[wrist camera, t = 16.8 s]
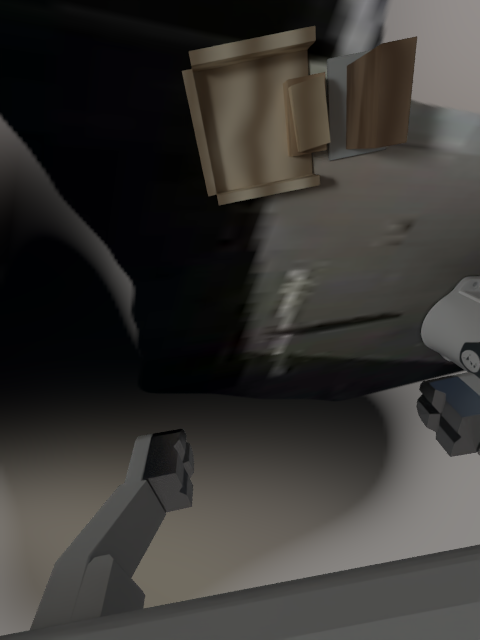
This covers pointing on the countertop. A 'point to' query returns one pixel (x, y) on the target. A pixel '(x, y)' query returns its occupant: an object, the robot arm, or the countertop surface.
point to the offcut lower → (289, 118)
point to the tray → (248, 115)
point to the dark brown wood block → (380, 95)
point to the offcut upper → (310, 113)
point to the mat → (340, 106)
